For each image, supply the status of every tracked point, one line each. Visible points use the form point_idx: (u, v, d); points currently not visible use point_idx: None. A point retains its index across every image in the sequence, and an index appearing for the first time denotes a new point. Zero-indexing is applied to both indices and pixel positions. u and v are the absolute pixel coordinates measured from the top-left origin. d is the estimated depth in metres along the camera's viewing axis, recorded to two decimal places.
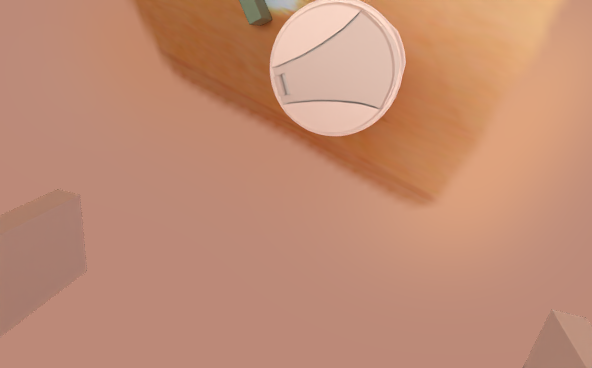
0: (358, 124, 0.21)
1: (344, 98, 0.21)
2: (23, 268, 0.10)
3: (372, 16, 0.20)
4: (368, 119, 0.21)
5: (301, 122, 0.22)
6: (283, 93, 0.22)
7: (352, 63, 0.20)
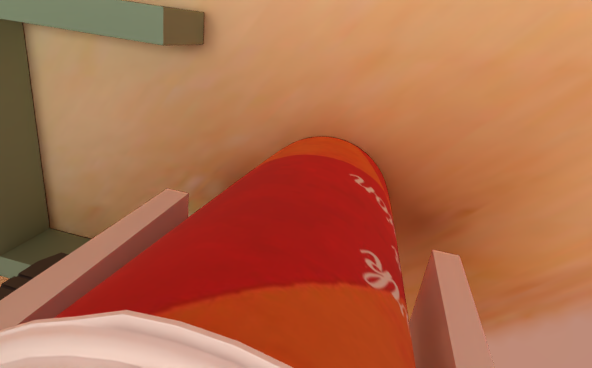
0: None
1: None
2: None
3: None
4: None
5: None
6: None
7: None
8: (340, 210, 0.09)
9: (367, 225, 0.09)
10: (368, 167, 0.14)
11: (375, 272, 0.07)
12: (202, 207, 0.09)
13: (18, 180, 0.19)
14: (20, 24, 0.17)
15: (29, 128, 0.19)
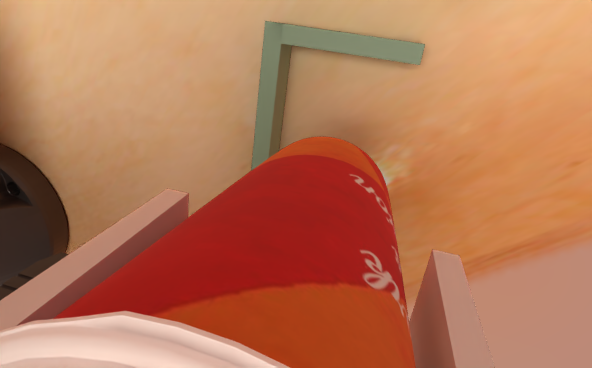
0: None
1: None
2: None
3: None
4: None
5: None
6: None
7: None
8: (340, 211, 0.09)
9: (367, 225, 0.09)
10: (368, 167, 0.14)
11: (375, 272, 0.07)
12: (202, 207, 0.09)
13: (274, 148, 0.29)
14: None
15: (282, 115, 0.29)
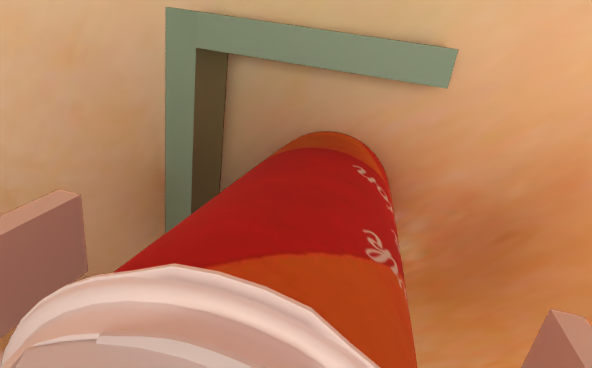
0: None
1: None
2: (24, 268, 0.10)
3: (62, 334, 0.05)
4: None
5: None
6: None
7: None
8: (344, 196, 0.10)
9: (369, 210, 0.10)
10: (370, 160, 0.14)
11: (376, 249, 0.08)
12: (218, 194, 0.10)
13: None
14: (226, 55, 0.16)
15: (217, 161, 0.18)
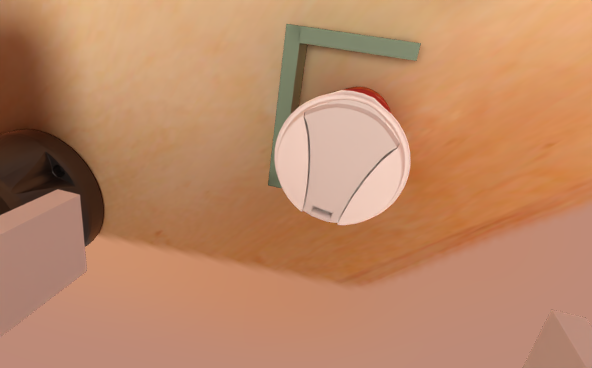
0: (398, 173, 0.20)
1: (367, 171, 0.20)
2: (23, 268, 0.10)
3: (315, 106, 0.20)
4: (400, 162, 0.19)
5: (363, 219, 0.21)
6: (328, 217, 0.21)
7: (341, 146, 0.20)
8: (374, 98, 0.25)
9: (383, 104, 0.25)
10: (381, 97, 0.30)
11: None
12: None
13: None
14: (306, 47, 0.32)
15: (298, 104, 0.33)
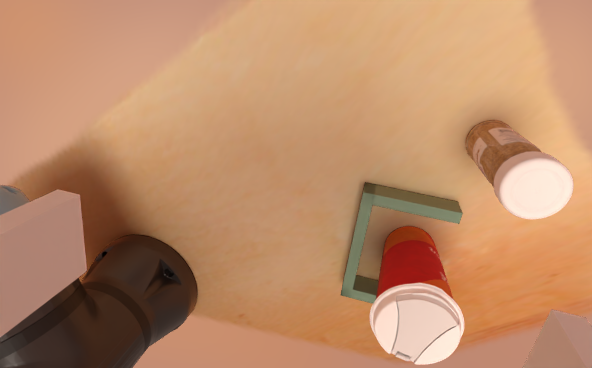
0: (458, 339, 0.30)
1: (436, 336, 0.31)
2: (23, 268, 0.10)
3: (403, 293, 0.31)
4: (459, 333, 0.30)
5: (432, 362, 0.32)
6: (408, 359, 0.32)
7: (420, 320, 0.31)
8: (432, 262, 0.36)
9: (438, 265, 0.36)
10: (430, 241, 0.41)
11: (443, 277, 0.34)
12: (395, 260, 0.36)
13: None
14: None
15: None
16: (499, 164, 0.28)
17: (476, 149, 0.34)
